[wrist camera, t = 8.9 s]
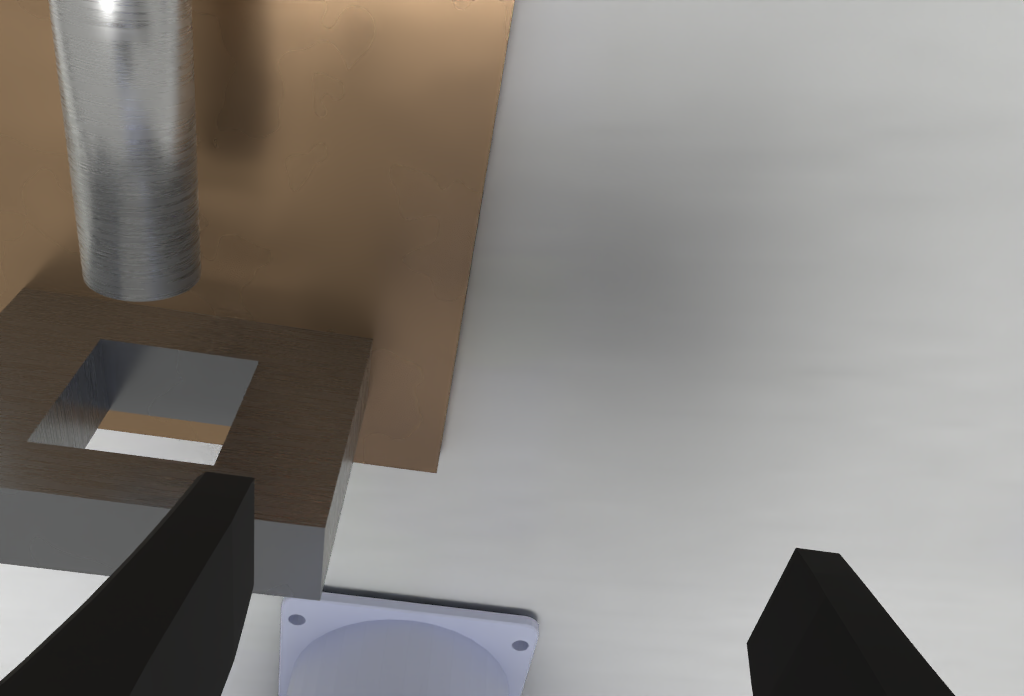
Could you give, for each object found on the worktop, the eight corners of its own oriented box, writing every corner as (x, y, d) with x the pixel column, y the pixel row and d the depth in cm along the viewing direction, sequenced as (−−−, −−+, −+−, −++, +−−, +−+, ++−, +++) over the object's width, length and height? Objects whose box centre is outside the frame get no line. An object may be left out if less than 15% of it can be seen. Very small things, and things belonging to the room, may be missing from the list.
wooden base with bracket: (439, 453, 24) (412, 675, 18) (-20, 391, 22) (-203, 606, 17) (579, -404, 14) (623, -522, 8) (-236, -589, 12) (-875, -883, 7)
